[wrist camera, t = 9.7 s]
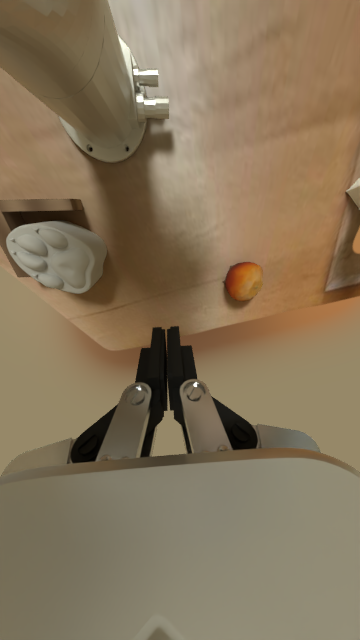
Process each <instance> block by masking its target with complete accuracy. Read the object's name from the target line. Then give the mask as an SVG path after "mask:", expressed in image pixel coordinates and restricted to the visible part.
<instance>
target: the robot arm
mask: <svg viewBox="0 0 360 640" xmlns="http://www.w3.org/2000/svg"><path fill="white" fill-rule="evenodd" d="M0 67H1V68H2V69H3V70H5V71H6V72H7V73H8V74H9V75H11V76H12V77H13V78H14V79H15V80H16V81H17V82H19V83H20V84H21V85H22V86H23V87H25V88H26V89H27V90H28V91H29V92H31V93H32V94H33V95H34V96H35V97H37V98H38V99H39V100H40V101H41V102H43V103H44V104H45V105H46V106H48V107H49V108H50V109H51V110H52V111H54V112H55V113H56V114H57V115H58V117H59V119H60V121H61V123H62V125H63V127H64V128H65V130H66V132H67V133H68V135H69V136H70V137H71V139H72V140H73V141H74V142H75V143H76V144H77V145H78V146H79V147H80V148H81V149H82V150H83V151H84V152H86V153H87V154H88V155H90V156H91V157H93V158H95V159H97V160H100V161H103V162H108V163H115V162H121V161H123V160H125V159H127V158H128V157H130V156H131V155H132V154H133V153H134V152H135V151H136V150H137V148H138V147H139V145H140V143H141V141H142V139H143V136H144V133H145V129H146V123H147V118H156V119H169V104H168V97H162V96H155V98H146V92H145V87H144V86H149V87H158V70H157V69H139V67H138V65H137V63H136V60H135V58H134V56H133V54H132V53H131V51H130V49H129V48H128V46H127V45H126V43H125V42H124V41H123V40H122V38H121V37H120V36H119V35H118V34H117V31H116V27H115V24H114V20H113V17H112V13H111V10H110V7H109V3H108V0H0ZM127 147H128V148H129V151H126V148H127ZM90 148H92V149H93V151H92V152H91V151H90ZM167 376H168V389H169V401H170V410H174V419H175V420H176V421H178V422H179V424H181V430H182V434H183V439H184V444H185V449H186V454H179V455H167V456H155V457H152V453H153V447H154V442H155V437H156V431H157V425H158V424H159V423H160V422H161V421H162V418H163V417H164V411H167ZM0 640H360V472H359V471H357V470H356V469H355V468H353V467H352V466H350V465H348V464H346V463H344V462H342V461H340V460H338V459H336V458H334V457H331V456H328V455H326V454H323V453H321V452H320V449H319V447H318V446H317V444H316V442H315V441H314V440H313V439H312V438H311V437H310V436H308V435H307V434H305V433H303V432H300V431H297V430H291V429H285V428H279V427H273V426H267V425H262V424H257V426H256V425H251V424H250V423H249V422H247V421H246V420H245V419H243V418H242V417H240V416H239V415H237V414H236V413H235V412H233V411H232V410H230V409H229V408H228V407H226V406H225V405H223V404H222V403H220V402H219V401H218V400H216V399H215V398H213V397H212V396H211V394H210V392H209V389H208V387H207V386H206V384H205V383H203V382H202V381H200V380H197V374H196V369H195V363H194V357H193V352H192V346H180V336H179V326H175V327H170V329H167V351H166V339H165V329H162V328H161V327H155V328H153V331H152V340H151V348H142V349H141V353H140V359H139V364H138V369H137V375H136V381H135V383H134V384H131V385H130V386H128V387H127V388H126V389H125V391H124V392H123V394H122V396H121V399H120V401H119V403H118V405H116V406H115V407H114V408H113V409H112V410H110V411H109V412H108V413H107V414H106V415H104V416H103V417H102V418H100V419H99V420H98V421H97V422H96V423H94V424H93V425H92V426H91V427H89V428H88V429H87V430H86V431H85V432H83V433H82V434H81V435H80V436H79V437H78V438H76V439H72V438H69V439H66V440H63V441H59V442H56V443H53V444H50V445H47V446H44V447H40V448H37V449H34V450H31V451H27V452H25V453H22V454H20V455H19V456H17V457H16V458H15V459H14V460H12V461H11V462H10V463H9V464H8V466H7V467H6V468H5V470H4V471H3V473H2V475H1V477H0Z"/></svg>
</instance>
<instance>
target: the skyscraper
mask: <svg viewBox="0 0 360 640" xmlns="http://www.w3.org/2000/svg"><path fill="white" fill-rule="evenodd" d="M346 192H347V193H348V194H349V196H350V197H351V198H352V200H353V201H354V202H355V204H356V205H357V206H358V208H359V209H358V210H360V178H359V179H358V180H357V181H356V182H355V183H354V184H353V185H352V186H351V188H350V189H348V190H347V191H346Z"/></svg>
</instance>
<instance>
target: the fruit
mask: <svg viewBox="0 0 360 640" xmlns="http://www.w3.org/2000/svg"><path fill="white" fill-rule="evenodd" d="M224 282H225V285H226V289H227V291H228V293H229V294H230V296H231V297H232V298H234V299H235V300H239V301H247V300H250V299H252V298H253V297H254V296H255V295H257V293H258V292H259V291H260V289H261V287H262V285H263V270H262V268H261V267H260V266H259V265H257V264H255V263H251V262H243V263H238V264H235V265H233V266H230V269H229V271H228V273H227V277H226V280H225V281H224Z"/></svg>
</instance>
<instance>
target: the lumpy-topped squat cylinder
mask: <svg viewBox="0 0 360 640" xmlns="http://www.w3.org/2000/svg"><path fill="white" fill-rule="evenodd" d="M6 244H7V248H8V251H9V253H10V255H11V256H12V258H13V259H14V261H15V262H16V263H17V264H18V266H19V267H20V268H21V269H22V270H24V271H25V272H26V273H27V274H28V275H30V276H31V277H32V278H34V279H35V280H37V281H38V282H40V283H42V284H43V285H45V286H46V287H49V288H56V289H59V290H62V291H67V292H71V293H76V294H80V293H84V292H86V291H88V290H89V289H90V288H91V287H92V286H93V285H94V284H95V283H96V282H97V281H98V280H99V279H100V277H101V276H102V274H103V263H104V260H105V258H106V255H107V247H106V245H105V243H104V241H103V240H102V239H101V238H100V237H99V236H98V235H96V234H95V233H93V232H91V231H89V230H87V229H85V228H83V227H81V226H79V225H76V224H74V223H71V222H68V221H64V220H56V221H48V222H41V223H33V224H27V225H22V226H19V227H17V228H15V229H14V230H13V231H12V232H11V233H10V234H9V235H8V236H7V239H6Z"/></svg>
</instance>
